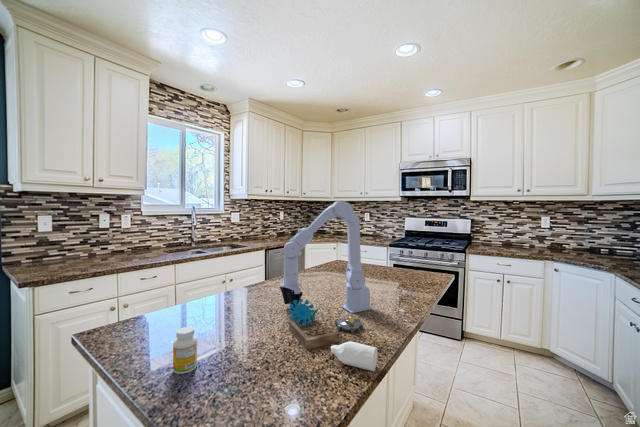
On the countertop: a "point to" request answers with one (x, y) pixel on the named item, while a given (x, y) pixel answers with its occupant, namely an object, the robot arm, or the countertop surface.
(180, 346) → the supplement bottle
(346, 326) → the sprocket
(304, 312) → the gear
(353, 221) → the robot arm
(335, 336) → the tray
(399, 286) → the countertop surface
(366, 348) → the white plastic bottle
